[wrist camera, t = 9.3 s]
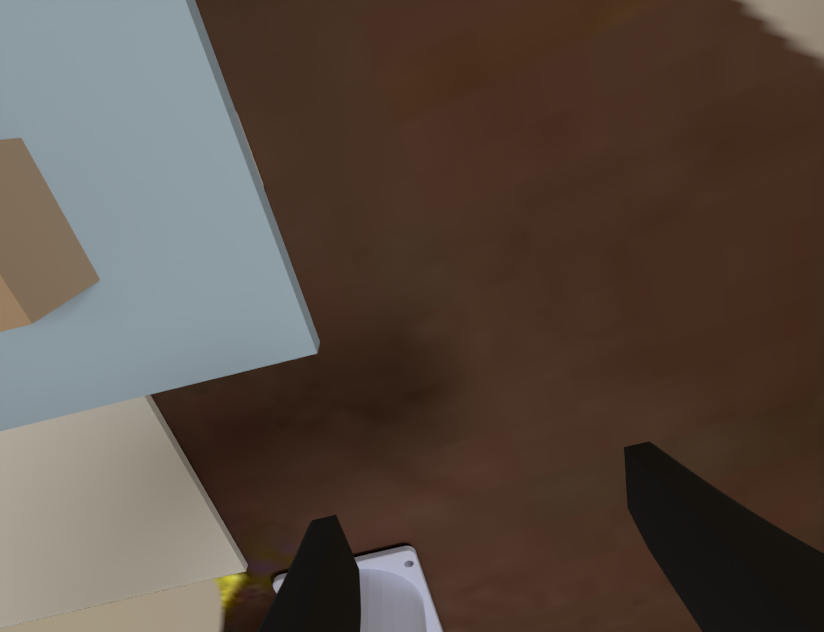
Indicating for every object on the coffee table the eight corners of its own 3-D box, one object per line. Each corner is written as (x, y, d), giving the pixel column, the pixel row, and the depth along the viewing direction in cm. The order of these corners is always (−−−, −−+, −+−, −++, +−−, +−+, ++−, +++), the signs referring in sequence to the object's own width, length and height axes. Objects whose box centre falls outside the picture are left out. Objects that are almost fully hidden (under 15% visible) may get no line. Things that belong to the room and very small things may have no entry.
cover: (320, 342, 16) (304, 408, 13) (-14, 424, 16) (-118, 510, 13) (158, -101, 11) (57, -193, 8) (-316, 34, 11) (-617, 4, 8)
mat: (247, 564, 26) (246, 571, 25) (5, 620, 26) (0, 628, 26) (121, 344, 20) (117, 349, 19) (-187, 422, 20) (-198, 428, 20)
